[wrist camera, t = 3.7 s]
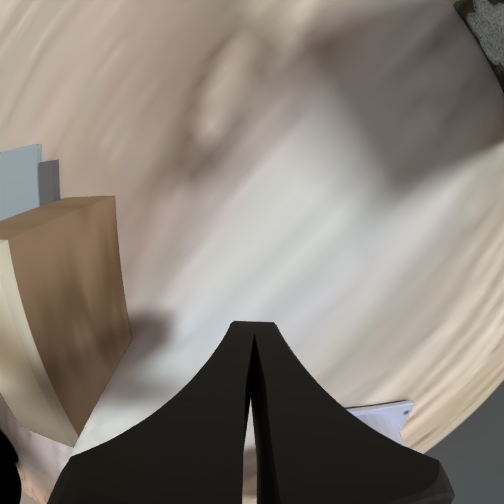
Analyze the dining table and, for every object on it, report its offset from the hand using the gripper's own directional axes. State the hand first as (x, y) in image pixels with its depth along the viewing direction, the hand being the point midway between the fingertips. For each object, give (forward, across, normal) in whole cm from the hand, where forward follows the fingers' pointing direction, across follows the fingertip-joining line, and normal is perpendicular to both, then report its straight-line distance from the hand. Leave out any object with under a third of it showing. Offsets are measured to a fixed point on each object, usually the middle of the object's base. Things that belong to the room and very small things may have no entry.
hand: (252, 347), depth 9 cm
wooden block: (+5, +8, 0) cm, 10 cm away
